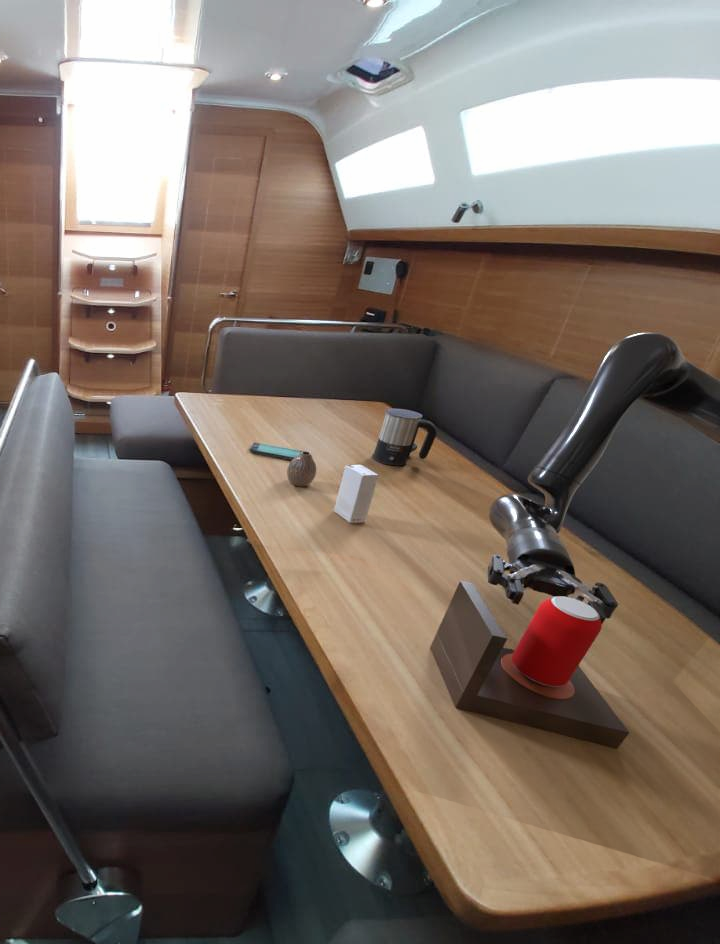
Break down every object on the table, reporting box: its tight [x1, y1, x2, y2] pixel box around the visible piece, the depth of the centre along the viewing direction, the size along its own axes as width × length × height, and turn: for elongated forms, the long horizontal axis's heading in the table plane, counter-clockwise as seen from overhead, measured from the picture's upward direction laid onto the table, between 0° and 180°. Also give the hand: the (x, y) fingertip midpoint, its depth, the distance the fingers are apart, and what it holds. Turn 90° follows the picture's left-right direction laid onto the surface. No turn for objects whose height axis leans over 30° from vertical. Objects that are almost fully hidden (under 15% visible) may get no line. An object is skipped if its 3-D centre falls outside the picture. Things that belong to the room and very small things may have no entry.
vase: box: [286, 450, 317, 488], centre depth 130 cm, size 7×7×9 cm
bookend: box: [429, 580, 630, 749], centre depth 68 cm, size 18×12×13 cm, turn 72°
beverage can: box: [512, 596, 603, 687], centre depth 67 cm, size 6×6×12 cm
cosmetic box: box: [333, 464, 379, 524], centre depth 114 cm, size 6×4×12 cm
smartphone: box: [249, 442, 304, 461], centre depth 150 cm, size 7×1×15 cm
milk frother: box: [371, 408, 438, 467], centre depth 148 cm, size 14×16×15 cm
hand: (555, 610), depth 70 cm, fingers open, 8 cm apart
